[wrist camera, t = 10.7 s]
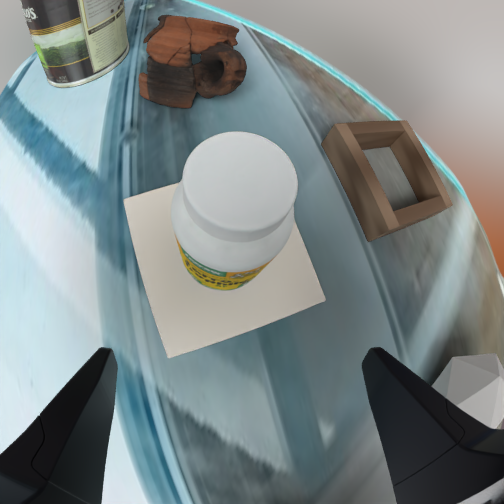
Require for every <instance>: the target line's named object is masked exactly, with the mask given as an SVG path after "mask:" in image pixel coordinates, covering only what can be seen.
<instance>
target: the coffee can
mask: <svg viewBox="0 0 504 504" xmlns="http://www.w3.org/2000/svg"><path fill="white" fill-rule="evenodd" d="M20 1H21V5H22V9H23V12H24V16H25V18H26V21H27V25H28V27H29V30H30V33H31V36H32V39H33V42H34V44H35V47H36V50H37V53H38V55H39V58H40V61H41V63H42V66H43V68H44V71H45V73H46V76H47V80H48V82H49V83H50V84H51V85H53V86H55V87H59V88H67V87H74V86H79V85H82V84H85V83H88V82H90V81H93V80H95V79H97V78H99V77H101V76H103V75H105V74H106V73H108V72H109V71H111V70H112V69H114V68H115V67H116V66H117V65H119V64H120V63H121V62H122V61H123V60H124V58H125V57H126V55H127V53H128V51H129V43H128V38H127V30H126V20H125V9H124V0H20Z"/></svg>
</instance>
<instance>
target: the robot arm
mask: <svg viewBox="0 0 504 504" xmlns="http://www.w3.org/2000/svg"><path fill="white" fill-rule="evenodd" d="M117 371H118V366H117V362H116V359H115V355H114V352H113V350H112V349H111V348H104V347H101V348H99V349H98V350H97V351H96V352H95V353H94V354H93V355H92V356H91V358H90V359H89V360H88V361H87V362H86V363H85V364H84V365H83V366H82V367H81V368H80V369H79V371H78V372H77V373H76V374H75V375H74V376H73V377H72V378H71V379H70V380H69V382H68V383H67V384H66V385H65V386H64V387H63V388H62V389H61V390H60V392H59V393H58V394H57V395H56V396H55V397H54V398H53V399H52V401H51V402H50V403H49V404H48V405H47V406H46V407H45V409H44V410H43V411H42V412H41V413H40V416H38V417H37V418H36V419H35V420H34V421H33V422H32V424H31V425H30V426H29V427H28V428H27V429H26V430H25V431H24V432H23V433H22V434H21V435H20V436H19V437H18V438H17V439H16V440H15V441H14V442H13V443H12V444H11V445H10V446H9V447H8V448H7V449H6V450H5V451H3V452H2V453H1V454H0V504H101V503H102V491H103V481H104V472H105V464H106V456H107V449H108V443H109V436H110V430H111V424H112V419H113V413H114V405H115V392H116V381H117ZM362 371H363V375H364V380H365V385H366V389H367V394H368V399H369V403H370V406H371V409H372V413H373V416H374V419H375V422H376V426H377V429H378V432H379V436H380V439H381V443H382V446H383V450H384V454H385V457H386V461H387V465H388V468H389V472H390V476H391V480H392V484H393V489H394V493H395V497H396V501H397V504H504V429H502V430H500V429H493V428H490V427H488V426H486V425H485V424H483V423H481V422H480V421H478V420H477V419H475V418H474V417H472V416H470V415H469V414H467V413H466V412H464V411H463V410H461V409H460V408H459V407H457V406H456V405H455V404H453V403H452V402H451V401H449V400H448V399H447V398H445V397H444V396H443V395H442V394H440V393H439V392H438V391H437V390H435V389H434V388H433V387H431V386H430V385H429V384H428V383H426V382H425V381H424V380H422V379H421V378H420V377H419V376H417V375H416V374H415V373H413V372H412V371H411V370H410V369H408V368H407V367H406V366H405V365H403V364H402V363H401V362H399V361H398V360H397V359H396V358H394V357H393V356H392V355H390V354H389V353H388V352H387V351H385V350H384V349H383V348H381V347H374V348H371V349H369V351H368V353H367V355H366V356H365V358H364V360H363V362H362Z"/></svg>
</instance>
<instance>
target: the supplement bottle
mask: <svg viewBox="0 0 504 504" xmlns="http://www.w3.org/2000/svg"><path fill="white" fill-rule="evenodd" d="M297 191H298V179H297V174H296V170H295V168H294V166H293V164H292V162H291V160H290V159H289V157H288V156H287V154H286V153H285V152H284V151H283V150H282V149H281V148H280V147H279V146H278V145H276V144H275V143H273V142H272V141H270V140H268V139H266V138H264V137H262V136H259V135H256V134H253V133H248V132H240V131H236V132H226V133H221V134H218V135H215V136H212V137H210V138H208V139H206V140H205V141H203V142H202V143H200V144H199V145H198V146H197V147H196V148H195V149H194V150H193V152H192V153H191V154H190V156H189V157H188V159H187V161H186V164H185V167H184V170H183V178H182V180H181V181H180V183H179V184H178V186H177V188H176V190H175V192H174V195H173V199H172V204H171V221H172V226H173V230H174V233H175V237H176V241H177V244H178V247H179V251H180V255H181V258H182V261H183V263H184V266H185V268H186V269H187V271H188V273H189V274H190V275H191V276H192V278H193V279H194V280H195V281H196V282H198V283H199V284H200V285H202V286H204V287H206V288H209V289H212V290H216V291H231V290H235V289H238V288H240V287H242V286H244V285H246V284H247V283H249V282H250V281H251V280H253V279H254V278H255V277H256V276H257V275H258V274H259V273H260V272H261V271H262V270H263V269H264V268H265V267H266V266H267V265H268V264H269V263H270V262H271V261H272V260H273V259H274V258H275V257H276V256H277V255H278V253H279V252H280V251H281V250H282V249H283V247H284V246H285V244H286V243H287V241H288V239H289V237H290V234H291V232H292V228H293V224H294V206H293V204H294V202H295V200H296V196H297Z"/></svg>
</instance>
